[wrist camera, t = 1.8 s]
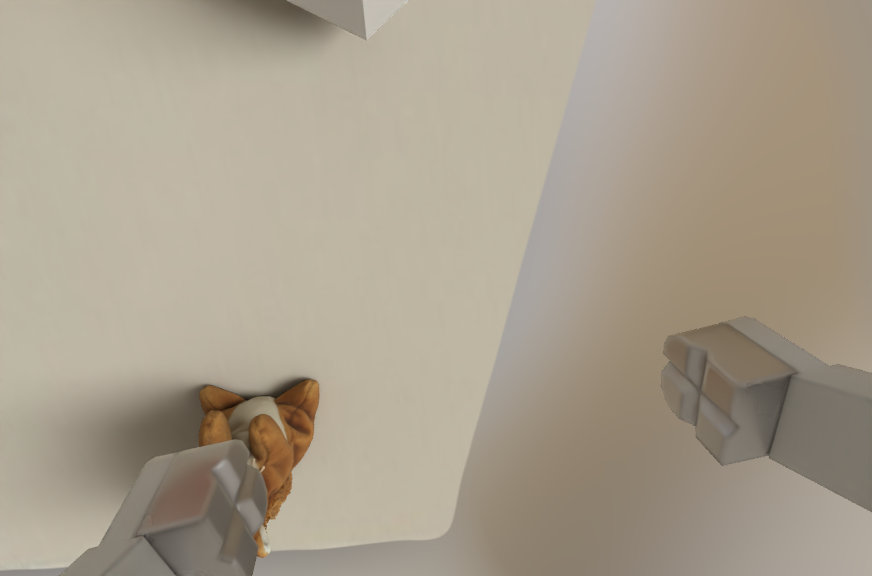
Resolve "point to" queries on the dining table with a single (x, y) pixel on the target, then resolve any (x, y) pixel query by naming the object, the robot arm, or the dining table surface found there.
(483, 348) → the dining table surface
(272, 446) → the stuffed squirrel
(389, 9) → the die
